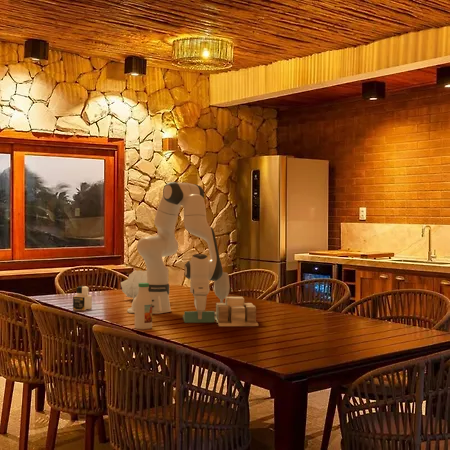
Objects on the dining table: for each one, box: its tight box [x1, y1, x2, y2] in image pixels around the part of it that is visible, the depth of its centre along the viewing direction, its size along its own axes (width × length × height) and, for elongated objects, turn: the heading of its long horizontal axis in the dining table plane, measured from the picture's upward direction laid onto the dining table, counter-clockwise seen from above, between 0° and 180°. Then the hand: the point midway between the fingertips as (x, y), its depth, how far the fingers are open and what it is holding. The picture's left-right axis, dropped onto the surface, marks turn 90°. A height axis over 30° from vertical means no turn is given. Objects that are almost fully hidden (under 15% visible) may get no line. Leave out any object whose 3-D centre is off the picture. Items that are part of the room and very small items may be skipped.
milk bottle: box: [134, 283, 153, 330], centre depth 297 cm, size 8×8×20 cm
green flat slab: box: [182, 310, 216, 324], centre depth 321 cm, size 14×14×5 cm
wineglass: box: [213, 271, 231, 316], centre depth 340 cm, size 9×9×21 cm
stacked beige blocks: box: [214, 296, 259, 327], centre depth 315 cm, size 20×18×11 cm
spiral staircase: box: [120, 269, 147, 300], centre depth 388 cm, size 18×18×25 cm
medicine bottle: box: [72, 285, 93, 311], centre depth 352 cm, size 7×7×12 cm
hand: (199, 318), depth 315 cm, fingers closed on green flat slab
